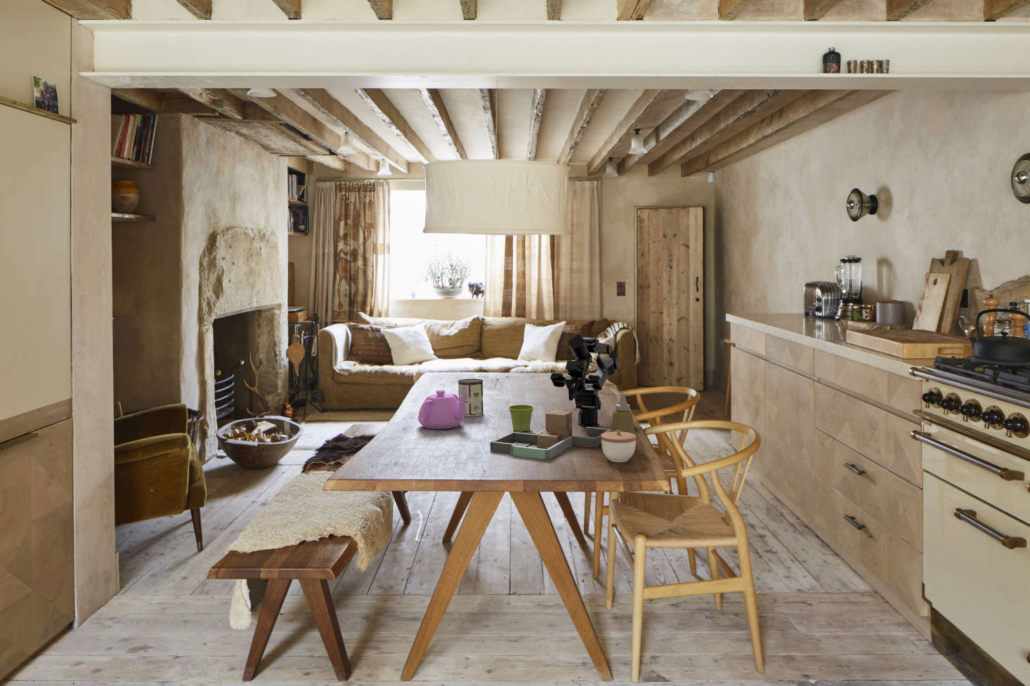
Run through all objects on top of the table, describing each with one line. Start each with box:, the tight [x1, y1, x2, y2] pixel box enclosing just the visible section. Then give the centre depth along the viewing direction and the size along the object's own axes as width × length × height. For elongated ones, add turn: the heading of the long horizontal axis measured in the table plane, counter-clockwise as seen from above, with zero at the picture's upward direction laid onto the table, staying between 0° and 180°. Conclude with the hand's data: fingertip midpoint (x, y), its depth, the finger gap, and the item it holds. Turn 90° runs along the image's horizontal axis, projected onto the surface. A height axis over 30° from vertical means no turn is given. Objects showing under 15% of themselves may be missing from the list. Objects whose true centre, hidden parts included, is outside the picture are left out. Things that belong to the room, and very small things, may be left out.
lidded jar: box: [601, 430, 637, 463], centre depth 216 cm, size 11×11×9 cm
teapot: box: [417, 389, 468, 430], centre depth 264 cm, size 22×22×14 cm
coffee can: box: [457, 378, 484, 417], centre depth 287 cm, size 10×10×14 cm
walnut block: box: [536, 409, 573, 449], centre depth 237 cm, size 14×7×10 cm, turn 153°
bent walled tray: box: [489, 426, 611, 461], centre depth 236 cm, size 36×30×3 cm
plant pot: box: [508, 404, 535, 433], centre depth 258 cm, size 9×9×9 cm
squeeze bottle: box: [610, 393, 635, 434], centre depth 230 cm, size 8×8×18 cm
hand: (570, 400), depth 249 cm, fingers closed
